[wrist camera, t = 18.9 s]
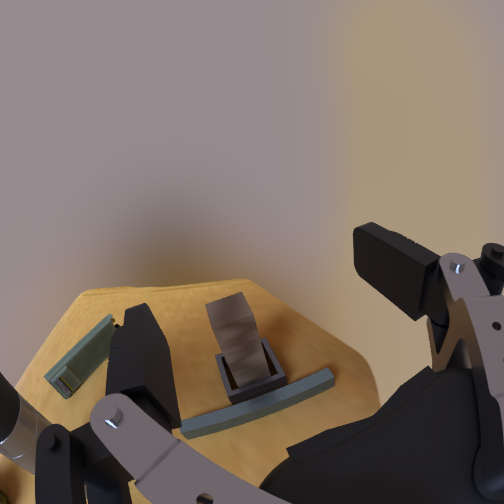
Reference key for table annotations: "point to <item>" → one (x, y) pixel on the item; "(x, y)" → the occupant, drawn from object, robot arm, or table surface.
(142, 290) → the table surface
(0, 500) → the bottle
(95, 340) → the handheld radio
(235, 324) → the block
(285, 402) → the keeper
